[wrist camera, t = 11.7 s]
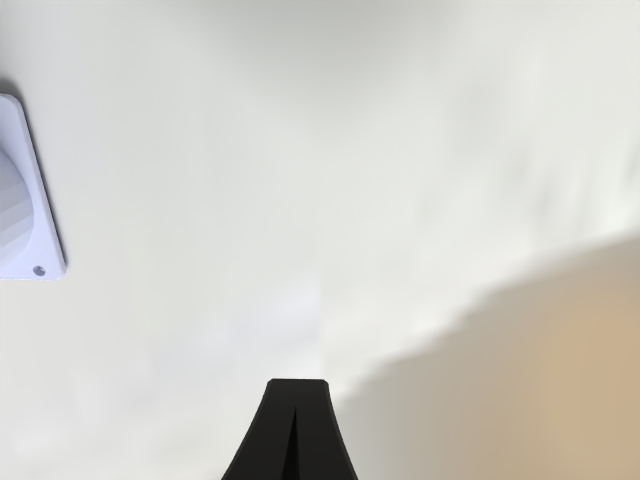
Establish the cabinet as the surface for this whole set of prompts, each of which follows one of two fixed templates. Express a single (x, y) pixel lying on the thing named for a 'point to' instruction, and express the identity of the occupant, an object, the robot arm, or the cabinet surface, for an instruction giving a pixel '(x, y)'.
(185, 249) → the cabinet surface
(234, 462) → the robot arm
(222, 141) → the cabinet surface
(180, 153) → the cabinet surface
